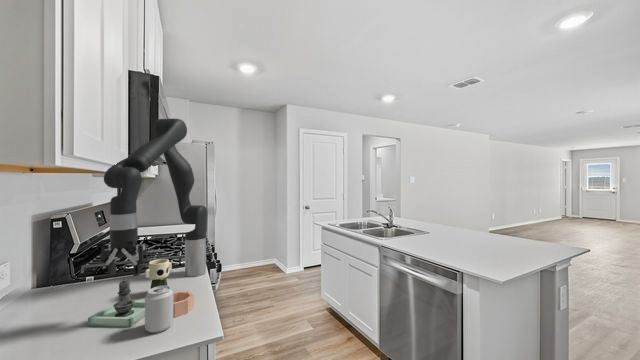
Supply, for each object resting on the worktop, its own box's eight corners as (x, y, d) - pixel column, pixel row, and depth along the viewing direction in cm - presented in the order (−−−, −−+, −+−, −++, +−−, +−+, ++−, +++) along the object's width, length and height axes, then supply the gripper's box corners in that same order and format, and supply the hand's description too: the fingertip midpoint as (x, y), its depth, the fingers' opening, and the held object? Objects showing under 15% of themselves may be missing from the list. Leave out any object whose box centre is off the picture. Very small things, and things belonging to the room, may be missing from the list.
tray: (118, 307, 96) (118, 300, 96) (156, 308, 95) (156, 301, 95) (87, 325, 84) (87, 318, 84) (131, 326, 83) (131, 319, 83)
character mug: (151, 300, 101) (151, 266, 101) (139, 297, 104) (139, 264, 104) (177, 289, 111) (177, 258, 111) (165, 287, 114) (165, 256, 114)
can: (167, 318, 88) (167, 282, 88) (177, 326, 83) (177, 288, 83) (141, 328, 82) (141, 289, 82) (150, 337, 77) (150, 296, 77)
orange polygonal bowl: (171, 303, 99) (171, 291, 99) (197, 303, 98) (197, 291, 98) (153, 317, 89) (153, 303, 89) (182, 317, 88) (182, 304, 88)
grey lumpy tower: (116, 311, 91) (116, 276, 91) (136, 308, 93) (136, 273, 93) (111, 320, 85) (111, 282, 85) (133, 316, 88) (133, 279, 88)
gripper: (152, 225, 93) (152, 271, 93) (112, 224, 93) (113, 271, 93) (136, 229, 85) (137, 279, 85) (93, 229, 86) (94, 279, 86)
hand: (124, 275), depth 89 cm, fingers open, 8 cm apart
